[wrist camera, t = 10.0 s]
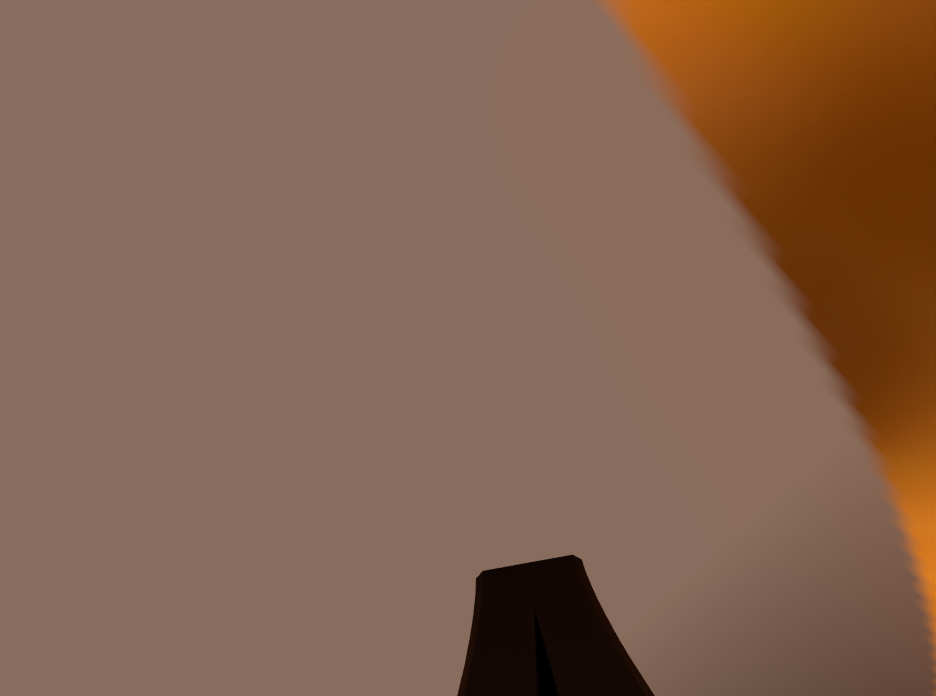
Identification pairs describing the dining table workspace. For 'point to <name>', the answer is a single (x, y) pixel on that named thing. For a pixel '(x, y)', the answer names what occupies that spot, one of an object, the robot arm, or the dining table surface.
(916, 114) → the dining table surface
